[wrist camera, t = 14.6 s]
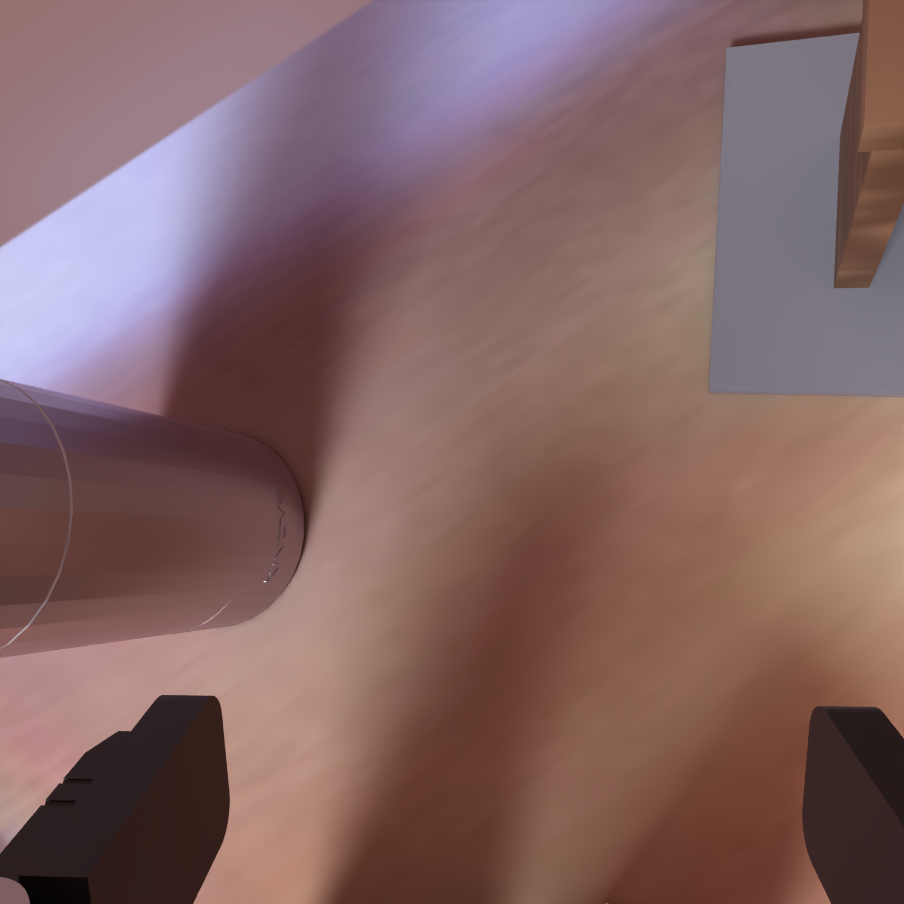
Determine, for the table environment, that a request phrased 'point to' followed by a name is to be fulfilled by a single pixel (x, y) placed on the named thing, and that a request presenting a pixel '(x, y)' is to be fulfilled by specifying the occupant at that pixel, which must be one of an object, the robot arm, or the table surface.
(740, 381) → the mat
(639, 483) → the table surface
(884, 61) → the stool
